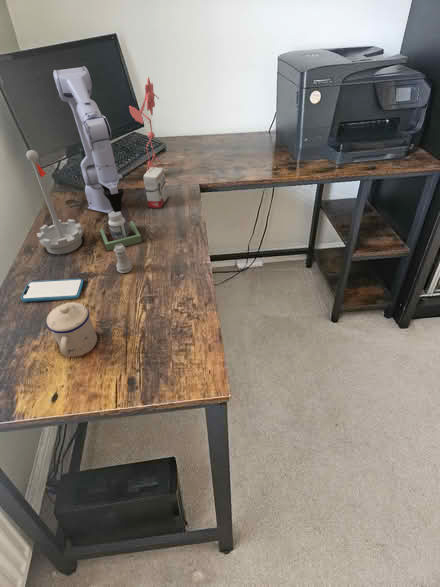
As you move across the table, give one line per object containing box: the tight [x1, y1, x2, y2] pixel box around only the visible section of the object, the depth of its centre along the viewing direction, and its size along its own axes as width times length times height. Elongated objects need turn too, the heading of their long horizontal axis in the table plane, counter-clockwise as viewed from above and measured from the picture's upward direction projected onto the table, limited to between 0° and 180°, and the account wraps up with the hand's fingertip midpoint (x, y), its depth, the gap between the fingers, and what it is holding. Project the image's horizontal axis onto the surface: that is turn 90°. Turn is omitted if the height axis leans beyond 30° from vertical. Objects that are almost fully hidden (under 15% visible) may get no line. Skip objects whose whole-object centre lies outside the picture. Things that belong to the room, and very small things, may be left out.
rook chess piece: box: [113, 244, 133, 274], centre depth 108 cm, size 4×4×8 cm
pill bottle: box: [107, 210, 130, 241], centre depth 121 cm, size 5×5×9 cm
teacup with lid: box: [46, 301, 98, 358], centre depth 85 cm, size 12×9×12 cm
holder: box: [99, 220, 143, 252], centre depth 123 cm, size 10×11×2 cm
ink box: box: [142, 166, 168, 209], centre depth 137 cm, size 9×5×12 cm, turn 168°
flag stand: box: [25, 149, 84, 255], centre depth 112 cm, size 13×13×30 cm
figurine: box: [128, 76, 182, 183], centre depth 150 cm, size 15×26×35 cm, turn 177°
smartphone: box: [20, 278, 84, 303], centre depth 104 cm, size 8×1×15 cm
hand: (115, 205), depth 119 cm, fingers open, 7 cm apart
